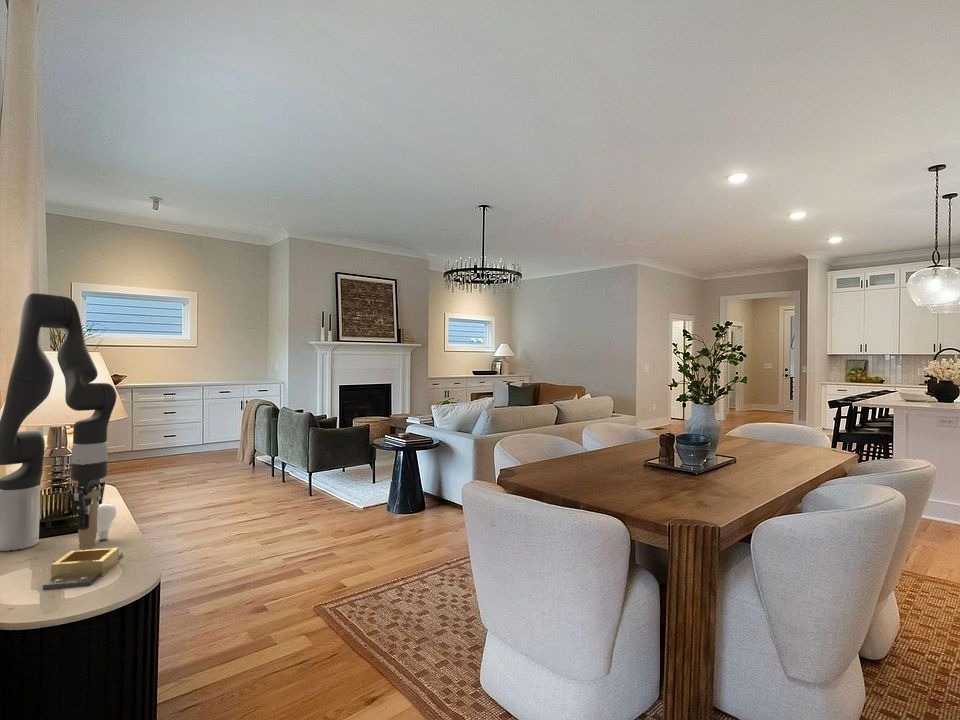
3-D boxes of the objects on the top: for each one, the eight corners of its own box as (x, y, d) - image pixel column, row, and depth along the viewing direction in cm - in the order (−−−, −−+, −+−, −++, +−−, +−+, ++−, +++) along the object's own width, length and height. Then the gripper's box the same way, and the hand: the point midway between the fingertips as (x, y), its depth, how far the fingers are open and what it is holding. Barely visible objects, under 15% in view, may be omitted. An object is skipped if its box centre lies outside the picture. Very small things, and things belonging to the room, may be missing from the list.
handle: (74, 554, 128) (76, 494, 128) (75, 546, 133) (77, 488, 134) (98, 550, 131) (100, 491, 131) (98, 543, 136) (100, 486, 136)
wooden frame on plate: (39, 589, 121) (40, 572, 121) (79, 558, 140) (80, 544, 140) (93, 585, 124) (93, 568, 124) (125, 555, 143) (125, 541, 143)
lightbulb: (119, 539, 156) (120, 502, 157) (95, 544, 151) (96, 507, 151) (110, 534, 160) (111, 499, 160) (86, 540, 154) (87, 504, 155)
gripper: (85, 455, 138) (83, 519, 138) (58, 465, 125) (55, 536, 124) (117, 455, 140) (115, 517, 140) (94, 464, 127) (91, 534, 126)
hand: (87, 526), depth 132 cm, fingers closed on handle, 4 cm apart
